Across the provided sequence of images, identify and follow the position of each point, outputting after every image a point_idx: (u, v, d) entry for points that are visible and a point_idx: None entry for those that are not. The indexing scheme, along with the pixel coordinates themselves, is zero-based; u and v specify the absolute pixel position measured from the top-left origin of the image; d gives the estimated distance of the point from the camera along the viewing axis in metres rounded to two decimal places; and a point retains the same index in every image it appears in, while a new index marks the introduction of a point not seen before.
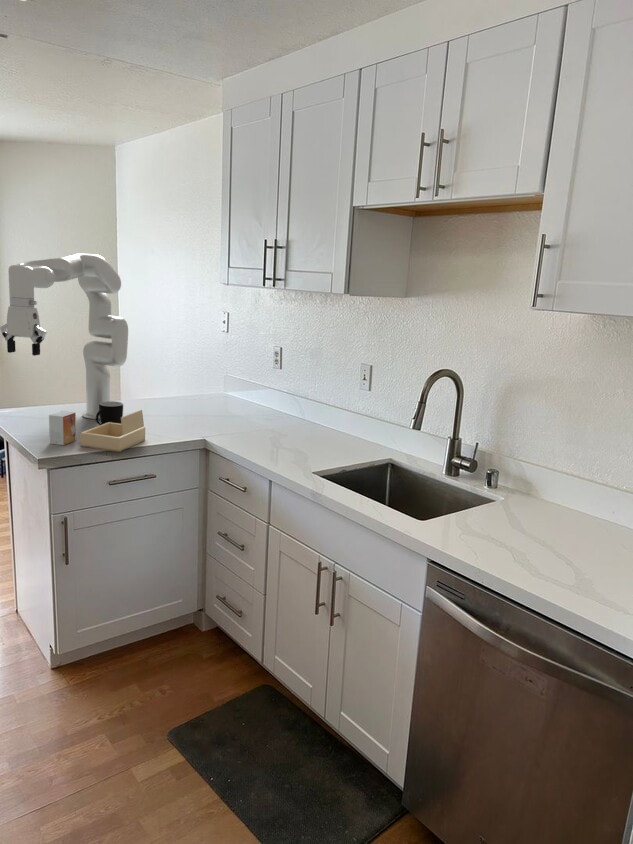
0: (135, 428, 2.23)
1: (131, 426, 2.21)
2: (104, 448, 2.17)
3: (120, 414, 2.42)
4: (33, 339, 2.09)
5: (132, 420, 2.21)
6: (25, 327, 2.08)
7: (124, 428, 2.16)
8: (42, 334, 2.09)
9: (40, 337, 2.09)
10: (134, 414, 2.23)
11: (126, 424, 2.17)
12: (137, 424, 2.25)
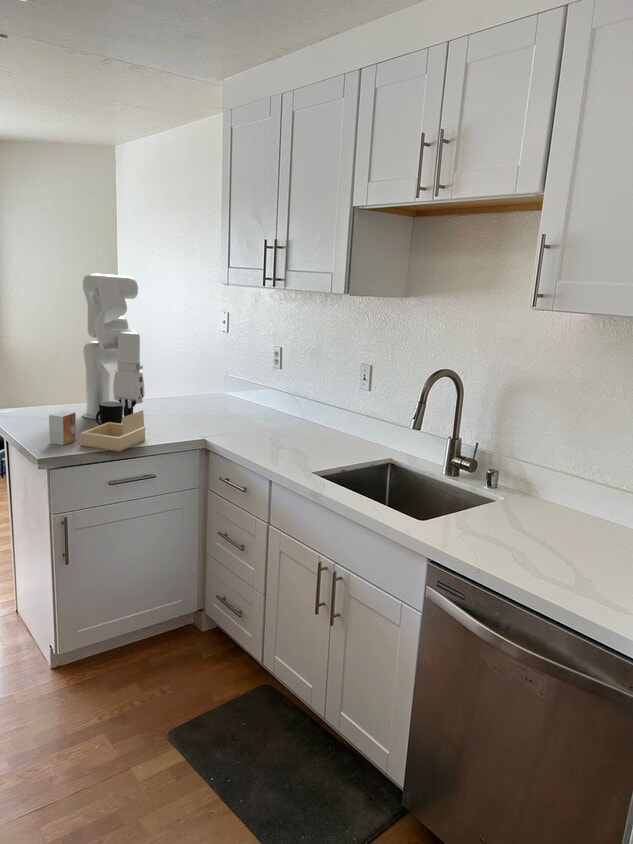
0: (135, 428, 2.23)
1: (131, 426, 2.21)
2: (104, 448, 2.17)
3: (120, 414, 2.42)
4: (130, 403, 2.19)
5: (133, 420, 2.21)
6: (132, 390, 2.17)
7: (124, 428, 2.16)
8: (138, 402, 2.19)
9: (134, 402, 2.19)
10: (135, 414, 2.23)
11: (126, 424, 2.17)
12: (137, 424, 2.25)
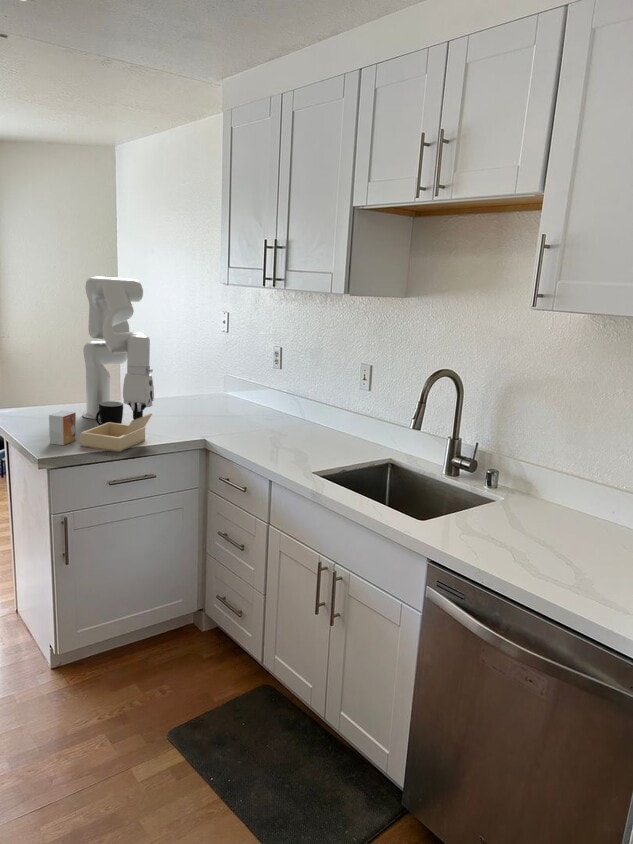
0: (136, 429, 2.23)
1: (135, 428, 2.20)
2: (104, 448, 2.17)
3: (120, 414, 2.42)
4: (139, 407, 2.19)
5: (139, 423, 2.21)
6: (141, 394, 2.16)
7: (128, 430, 2.16)
8: (147, 406, 2.18)
9: (144, 405, 2.19)
10: (144, 418, 2.22)
11: (132, 426, 2.17)
12: (140, 426, 2.25)
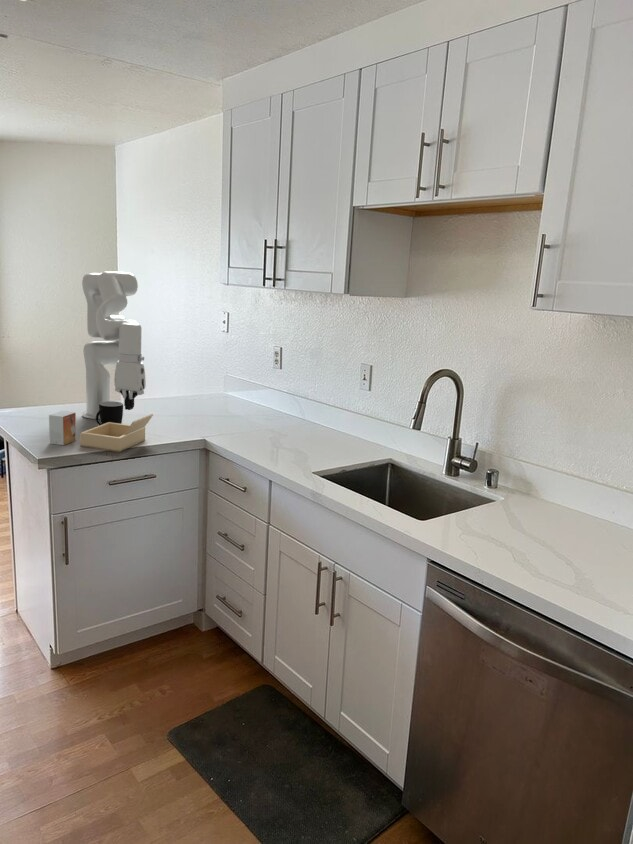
0: (137, 429, 2.23)
1: (135, 428, 2.20)
2: (104, 448, 2.17)
3: (120, 414, 2.42)
4: (131, 395, 2.19)
5: (139, 423, 2.21)
6: (133, 382, 2.16)
7: (129, 430, 2.16)
8: (139, 393, 2.19)
9: (135, 393, 2.19)
10: (145, 419, 2.22)
11: (132, 427, 2.17)
12: (140, 426, 2.25)
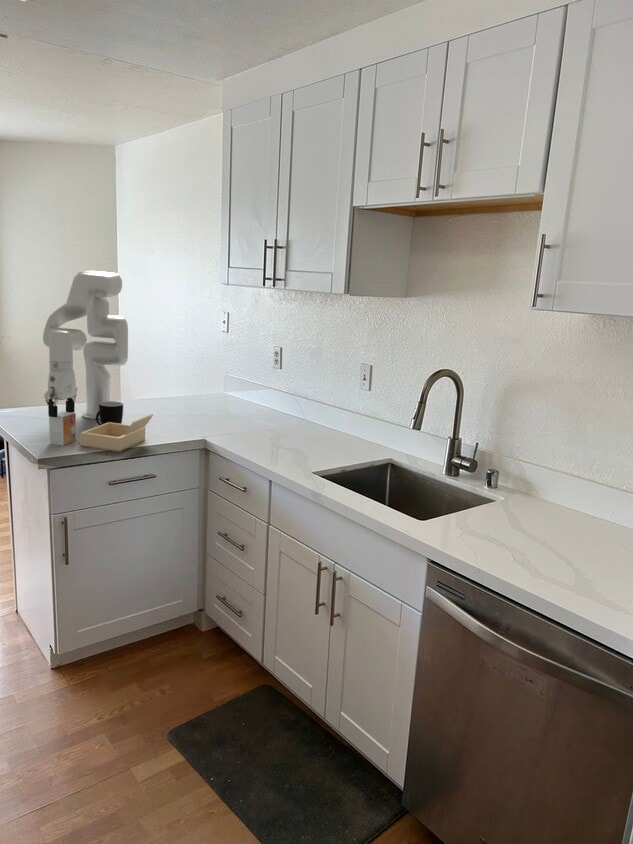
0: (137, 429, 2.23)
1: (135, 428, 2.20)
2: (104, 448, 2.17)
3: (120, 414, 2.42)
4: None
5: (139, 424, 2.21)
6: None
7: (129, 430, 2.16)
8: None
9: (46, 399, 2.11)
10: (145, 419, 2.22)
11: (133, 427, 2.17)
12: (140, 426, 2.25)
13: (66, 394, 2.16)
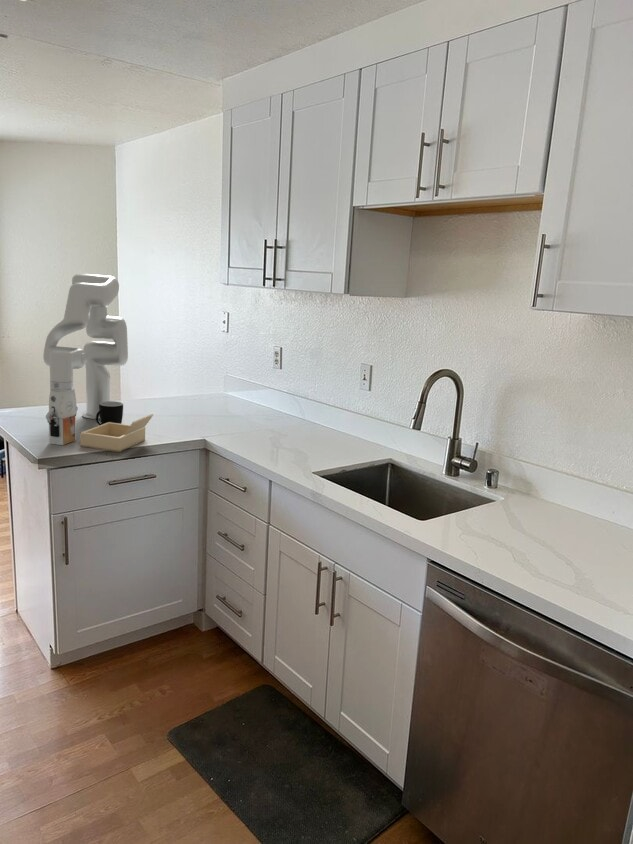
0: (137, 429, 2.23)
1: (135, 428, 2.20)
2: (104, 448, 2.17)
3: (120, 414, 2.42)
4: None
5: (139, 424, 2.21)
6: None
7: (129, 430, 2.16)
8: None
9: None
10: (145, 419, 2.22)
11: (133, 427, 2.17)
12: (140, 426, 2.25)
13: (67, 413, 2.18)
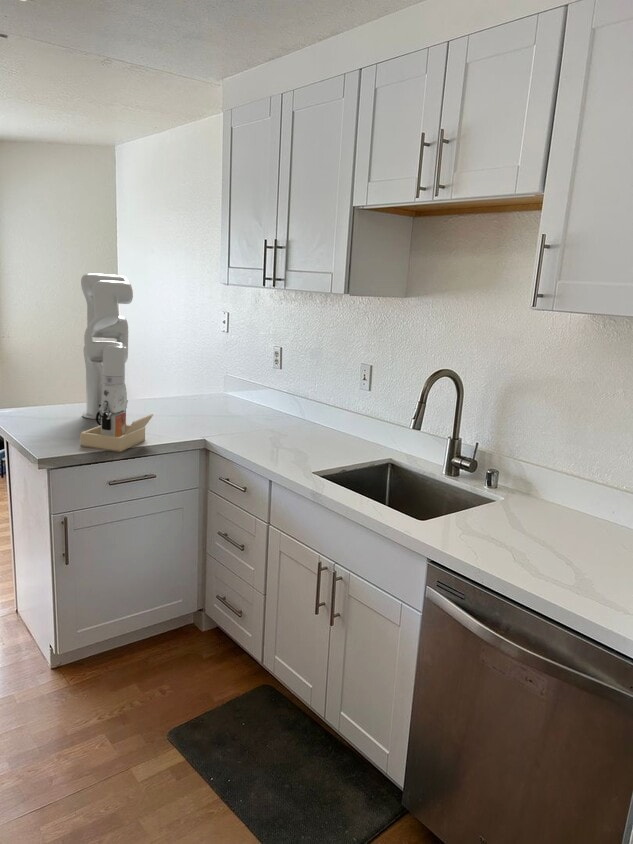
0: (137, 429, 2.23)
1: (135, 428, 2.20)
2: (104, 448, 2.17)
3: None
4: None
5: (139, 424, 2.21)
6: None
7: (129, 430, 2.16)
8: None
9: (100, 413, 2.16)
10: (145, 419, 2.22)
11: (133, 427, 2.17)
12: (140, 426, 2.25)
13: (119, 407, 2.21)
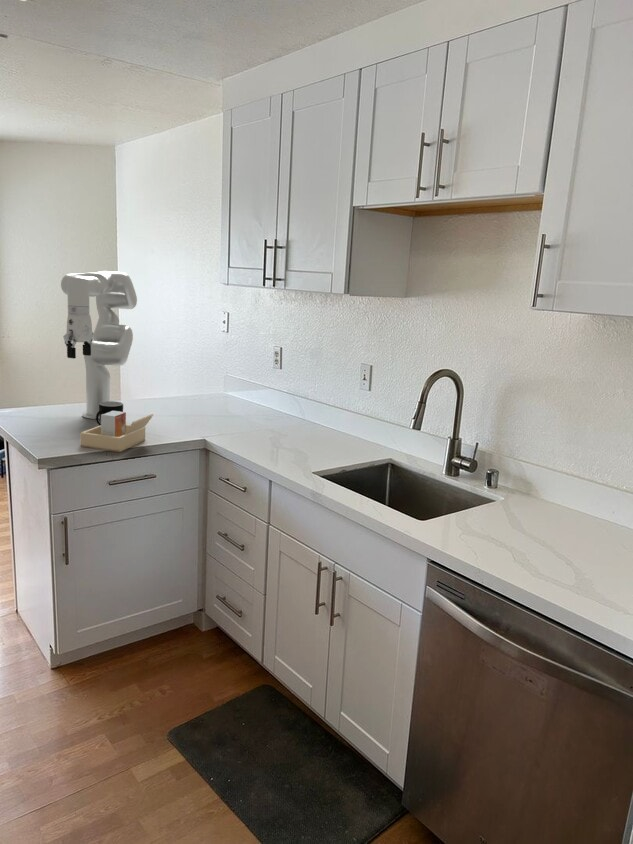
0: (137, 429, 2.23)
1: (135, 428, 2.20)
2: (104, 448, 2.17)
3: None
4: None
5: (139, 424, 2.21)
6: None
7: (129, 430, 2.16)
8: None
9: (65, 341, 2.26)
10: (145, 419, 2.22)
11: (133, 427, 2.17)
12: (140, 426, 2.25)
13: (83, 337, 2.30)
